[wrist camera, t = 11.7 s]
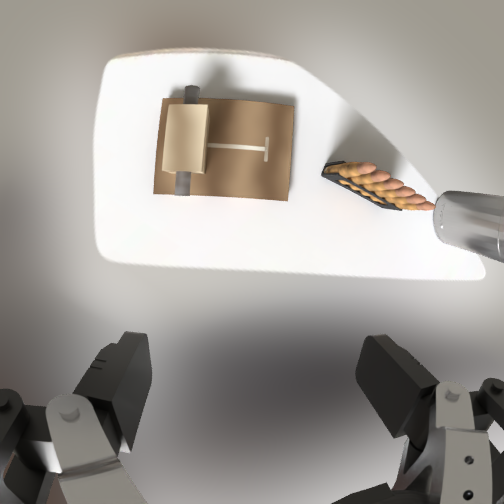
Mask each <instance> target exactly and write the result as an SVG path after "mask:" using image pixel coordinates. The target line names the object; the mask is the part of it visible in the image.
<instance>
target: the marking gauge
mask: <svg viewBox="0 0 504 504" xmlns="http://www.w3.org/2000/svg"><path fill="white" fill-rule="evenodd" d="M199 91H200V88H199V87H198V86H193V85H190V86H186V87H185V92H184V100H183V104H170V105H169V107H168V115H167V123H166V132H165V141H164V151H163V163H162V171H166V172H169V173H176V180H175V195H178V196H190V184H191V174H205V169H206V157H207V145H208V134H209V124H210V114H209V109H208V105H201V104H198V99H199Z"/></svg>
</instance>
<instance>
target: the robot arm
mask: <svg viewBox="0 0 504 504" xmlns="http://www.w3.org/2000/svg"><path fill="white" fill-rule="evenodd" d="M434 228H435V232H436V234H437V236H438V238H439V239H440V240H441V241H442V242H444V243H446V244H449V245H452V246H455V247H458V248H461V249H464V250H467V251H470V252H473V253H476V254H479V255H482V256H485V257H488V258H491V259H494V260H497V261H499V262H503V263H504V196H498V195H489V194H481V193H470V192H461V191H446V192H444V193H443V194H442V195H441V196H440V197H439V199H438V201H437V203H436V208H435V210H434ZM355 375H356V381H357V383H358V385H359V386H360V388H361V389H362V391H363V392H364V394H365V395H366V397H367V398H368V400H369V401H370V403H371V404H372V406H373V407H374V409H375V410H376V412H377V413H378V415H379V417H380V418H381V419H382V421H383V423H384V424H385V426H386V427H387V429H388V430H389V432H390V433H391V435H392V437H393V438H397V437H400V436H403V435H407V436H408V438H407V440H406V441H405V444H404V448H403V453H402V458H401V463H400V467H399V471H398V475H397V479H396V482H395V484H394V486H393V488H392V489H391V490H390V488H389V486H388V484H387V483H384V484H381V485H378V486H375V487H372V488H369V489H366V490H362V491H359V492H356V493H352V494H350V495H348V496H346V497H344V498H342V499H340V500H338V501H336V502H334V503H332V504H504V451H503V452H502V453H501V454H500V452H499V451H498V450H497V449H496V447H495V446H494V445H493V444H492V443H491V441H490V440H489V436H488V433H487V430H488V429H489V427H490V426H491V424H492V423H493V421H494V420H495V421H496V422H497V423H498V424H499V425H500V427H502V429H503V430H504V382H503V381H501V380H499V379H495V378H488V379H486V380H484V382H483V384H482V386H481V387H480V389H479V391H474V392H468V390H467V389H466V388H465V387H463V386H462V385H460V384H458V383H456V382H451V381H445V382H441V383H440V382H439V381H438V380H437V379H436V378H435V377H434V376H433V375H432V374H431V373H430V372H429V371H428V370H427V369H426V368H424V366H423V365H420V363H419V362H418V361H417V360H416V359H414V357H413V356H412V355H411V354H410V353H409V352H408V351H407V350H405V349H403V348H401V347H400V346H398V345H397V344H396V343H395V342H394V341H393V340H392V339H391V338H390V337H388V336H387V335H386V334H381V335H370V336H367V337H366V338H365V340H364V343H363V347H362V350H361V354H360V358H359V360H358V364H357V367H356V373H355ZM151 381H152V367H151V360H150V352H149V343H148V337H147V334H145V333H136V332H128V331H126V332H124V334H123V336H122V337H121V339H120V340H119V342H118V343H117V344H114V343H111V344H109V345H107V346H106V347H104V348H103V349H101V350H100V352H99V353H98V355H97V356H96V358H95V361H93V362H92V364H91V365H90V368H88V370H87V371H86V373H85V375H84V376H83V377H82V379H81V381H80V382H79V384H78V385H77V387H76V388H75V390H74V392H73V393H72V394H63V395H60V396H57V397H56V398H54V399H53V400H51V401H50V402H49V404H48V405H47V407H43V406H31V405H25V404H24V403H23V400H22V398H21V397H20V395H19V394H18V393H17V392H16V391H13V390H11V389H0V504H46V502H47V499H48V496H49V492H50V489H51V486H52V483H53V480H54V477H55V474H56V472H57V473H59V474H58V479H59V483H60V486H61V489H62V491H63V494H64V496H65V498H66V501H67V503H68V504H147V502H146V501H145V499H144V498H143V496H142V495H141V493H140V492H139V491H138V489H137V488H136V486H135V485H134V483H133V482H132V480H131V478H130V477H129V475H128V473H127V472H126V470H125V469H124V467H123V465H122V464H121V462H120V460H119V459H118V458H117V457H118V453H119V451H122V452H127V453H131V451H132V447H133V443H134V440H135V436H136V432H137V429H138V425H139V422H140V419H141V416H142V412H143V409H144V406H145V402H146V399H147V396H148V393H149V390H150V386H151ZM12 452H14V453H15V456H14V458H13V460H12V462H11V464H10V467H9V469H8V471H7V473H6V476H5V478H4V480H3V473H4V470H5V468H6V465H7V463H8V461H9V459H10V457H11V455H12Z"/></svg>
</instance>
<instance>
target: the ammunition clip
mask: <svg viewBox="0 0 504 504" xmlns="http://www.w3.org/2000/svg"><path fill="white" fill-rule="evenodd" d="M376 168H377V166H376V165H375V164H373V163H370V162H349V163H346V162H344V161H338V162H332V163H326V164H325V166H324V169H323V172H322V174H321V176H322V177H324V178H326V179H328V180H330V181H332V182H334V183H336V184H338V185H340V186H342V187H344V188H346V189H348V190H350V191H352V192H354V193H356V194H358V195H360V196H361V197H363V198H365V199H367V200H369V201H371V202H372V203H374V204H376V205H378V206H380V207H381V208H386V209H393V210H399V211H402V209H406V210H432V209H435V208H436V206H435V205H434V204H433V203H431V202H429V201H426V198H425V197H423V196H422V195H419V194H416V193H415V190H413V189H412V188H410V187H407V186H403V185H404V183H403V182H402V181H400V180H398V179H393V178H390V177H391V175H390V174H389V173H388V172H386V171H381V170H375V169H376Z"/></svg>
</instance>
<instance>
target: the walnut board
mask: <svg viewBox="0 0 504 504" xmlns="http://www.w3.org/2000/svg"><path fill="white" fill-rule="evenodd" d="M183 100H184V98H163V100H162V107H161V115H160V123H159V131H158V140H157V150H156V162H155V175H154V192H153V194H172V195H175V180H176V173H169V172H166V171H162V163H163V151H164V141H165V132H166V123H167V115H168V107H169V105H170V104H183ZM198 104H201V105H208V109H209V114H210V124H209V134H208V145H207V157H206V169H205V174H191V184H190V195H200V196H221V197H238V198H253V199H267V200H279V201H288V192H289V179H290V165H291V151H292V135H293V117H294V106H289V105H282V104H274V103H266V102H256V101H245V100H232V99H212V98H199V99H198Z"/></svg>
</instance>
